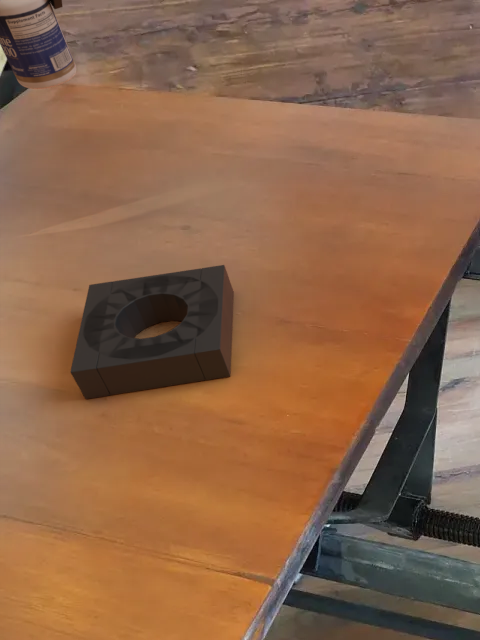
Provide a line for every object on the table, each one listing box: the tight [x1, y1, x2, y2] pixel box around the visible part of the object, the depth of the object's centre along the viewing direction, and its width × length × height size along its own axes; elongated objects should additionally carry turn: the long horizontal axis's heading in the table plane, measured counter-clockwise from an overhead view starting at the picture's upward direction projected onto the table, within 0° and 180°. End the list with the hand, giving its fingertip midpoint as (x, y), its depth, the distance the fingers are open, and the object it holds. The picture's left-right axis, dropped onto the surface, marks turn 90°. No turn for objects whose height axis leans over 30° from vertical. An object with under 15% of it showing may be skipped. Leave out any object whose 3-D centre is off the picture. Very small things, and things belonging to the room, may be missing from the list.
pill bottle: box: [0, 0, 77, 90], centre depth 79 cm, size 5×5×10 cm
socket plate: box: [70, 264, 235, 400], centre depth 77 cm, size 12×12×3 cm
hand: (24, 12), depth 77 cm, fingers closed on pill bottle, 5 cm apart
